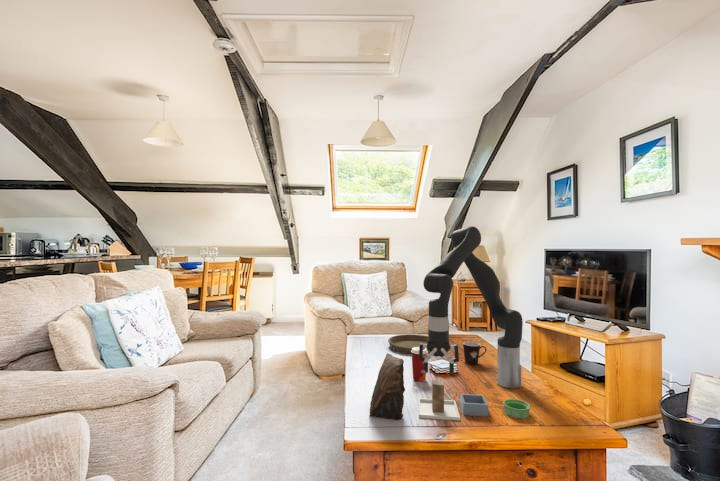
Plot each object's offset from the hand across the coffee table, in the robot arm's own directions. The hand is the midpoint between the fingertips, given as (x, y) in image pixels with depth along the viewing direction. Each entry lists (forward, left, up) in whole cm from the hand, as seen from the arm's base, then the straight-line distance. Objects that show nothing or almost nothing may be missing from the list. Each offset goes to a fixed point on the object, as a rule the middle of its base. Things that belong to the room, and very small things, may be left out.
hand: (438, 372), depth 135 cm
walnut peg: (0, 0, -14) cm, 14 cm away
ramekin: (-28, -2, -15) cm, 32 cm away
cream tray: (0, 0, -15) cm, 15 cm away
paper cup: (+6, -33, -15) cm, 37 cm away
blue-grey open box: (-13, -2, -15) cm, 20 cm away
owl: (+19, +3, -15) cm, 25 cm away
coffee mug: (-23, -61, -15) cm, 67 cm away
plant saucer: (+8, -86, -15) cm, 88 cm away
